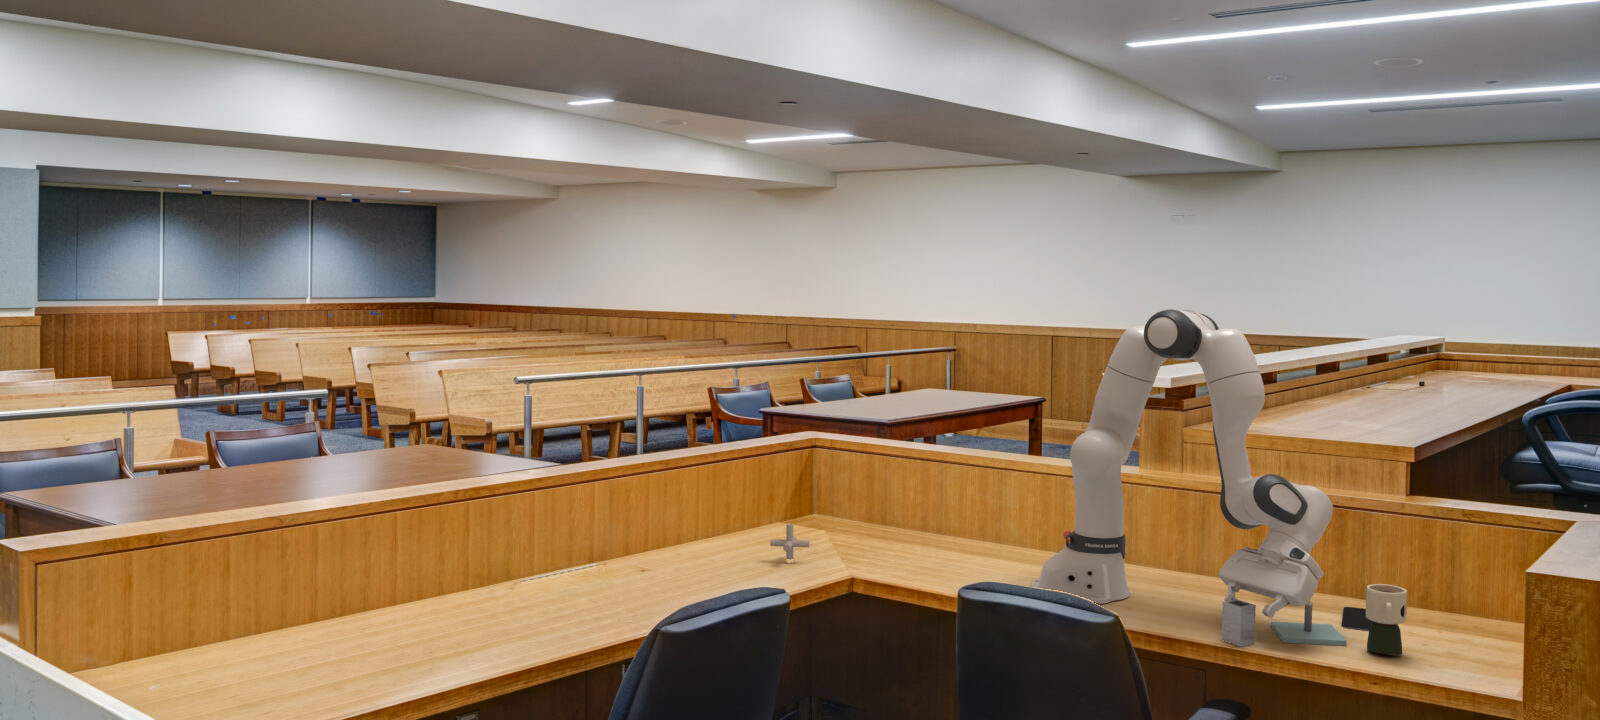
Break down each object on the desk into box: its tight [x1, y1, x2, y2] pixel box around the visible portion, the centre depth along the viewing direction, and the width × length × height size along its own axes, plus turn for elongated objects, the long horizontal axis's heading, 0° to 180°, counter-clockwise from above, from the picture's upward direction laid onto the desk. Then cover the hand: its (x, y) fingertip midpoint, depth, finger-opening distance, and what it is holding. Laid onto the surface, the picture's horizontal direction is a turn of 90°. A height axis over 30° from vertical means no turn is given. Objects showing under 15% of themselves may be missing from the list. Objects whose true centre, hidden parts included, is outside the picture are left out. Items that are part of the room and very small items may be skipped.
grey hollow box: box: [1221, 598, 1257, 648], centre depth 232 cm, size 4×5×8 cm
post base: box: [1270, 601, 1347, 647], centre depth 236 cm, size 12×11×7 cm
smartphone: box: [1340, 606, 1374, 632], centre depth 247 cm, size 7×1×15 cm
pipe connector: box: [769, 523, 810, 560], centre depth 295 cm, size 10×10×10 cm
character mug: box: [1365, 583, 1408, 657], centre depth 225 cm, size 11×7×13 cm, turn 159°
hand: (1247, 609), depth 233 cm, fingers open, 8 cm apart
